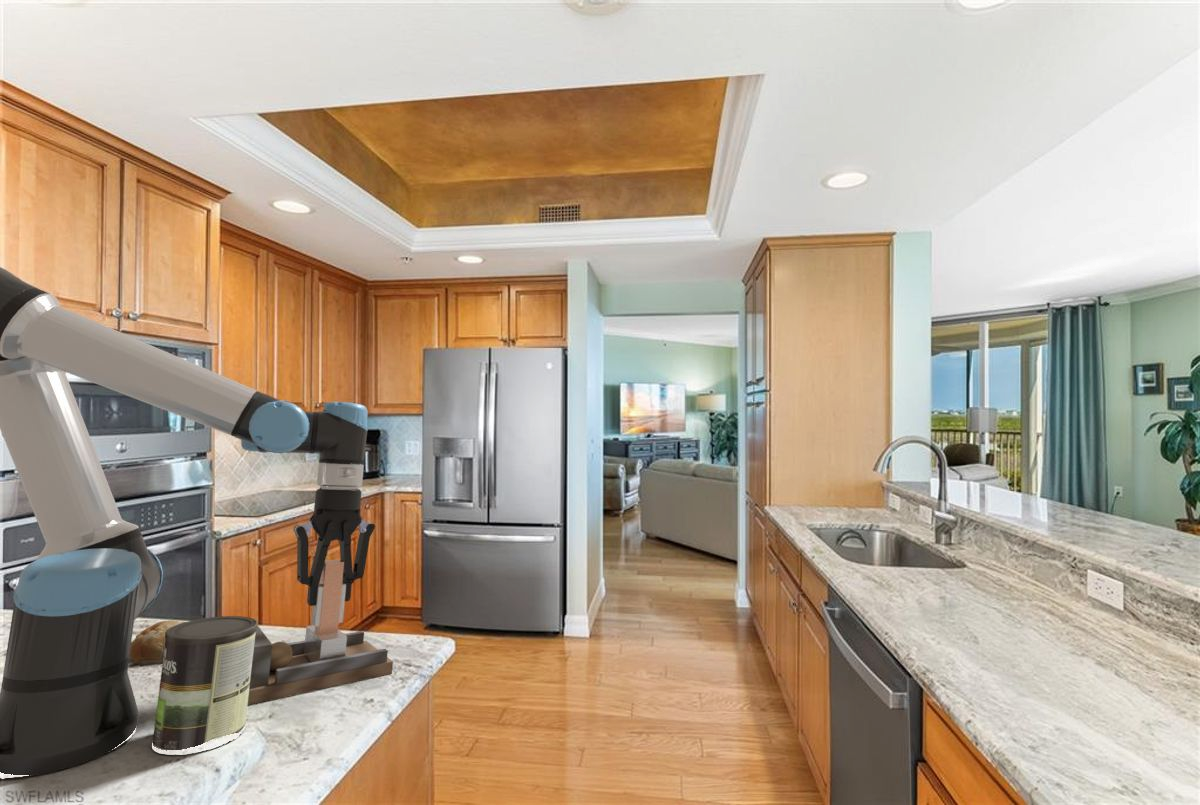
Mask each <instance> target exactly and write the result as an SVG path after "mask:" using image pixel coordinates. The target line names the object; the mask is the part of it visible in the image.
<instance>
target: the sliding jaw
mask: <svg viewBox="0 0 1200 805" xmlns="http://www.w3.org/2000/svg"><path fill="white" fill-rule="evenodd" d="M343 569H344V561H342V560H341V558H338V559H327V560H326V559H325V563H324V567H323V571H322V574H321V578H320V582H319V584H320V585H322V586H323V598H322V608H321V619H320V626H314V625H313V624H312V625H306V629H305V638H304V639H305V640H304V641H305V647H304V654H305V655H306V656H307V658H308V659H309V660H310V661H311V662H317V661H322V660H327V659H333V658H338V657H343V656H345V654H346V642H347V636H346V635H345V634H346V633H343V632H342V631H341V630H340V629H339V624H340V623H339V614H340V602H341V591H342V581H343Z"/></svg>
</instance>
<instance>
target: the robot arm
mask: <svg viewBox="0 0 1200 805" xmlns="http://www.w3.org/2000/svg"><path fill="white" fill-rule="evenodd" d="M66 373H67V374H70V375H72V376H74V377H75V376H76V377H78V378H80V379H83V380H86V381H87V382H91V383H94V384H96V385H98V386H101V387H103V388H107V389H110V390H112V391H114V392H117V393H119V394H122V395H125V396H127V397H130V398H132V399H135V400H138V401H140V402H143V403H146V404H149V405H151V406H153V407H156V408H157V409H158V408H159V409H161V410H164V411H166V412H169V413H172V414H174V415H177V416H180V417H182V418H185V419H188V420H190V421H192V422H195V423H198V424H201V425H204V426H205V427H208V428H210V429H213V430H216V431H219V432H221V433H224V434H225V435H229V436H231V437H234V438H235V439H238V440H240V444H241V448H242V449H243V450H245V451H246V452H258V453H263V454H265V453H273V454H285V453H287V454H288V453H289V454H310V455H312V454H313V455H314V454H317V455H318V458H319V459H318V467H317V468H318V469H317V475H316V476H317V477H316V485H317V486H319V488H316V490H315V497H314V505H313V506H314V507H313V514H312V515H311V517H310V519H309V521H306V522H305V523H302V524H300V525H299V524H296V525H295V526H294V527H293V531H294V534H295V536H296V540H297V544H296V545H297V546H296V549H297V551H296V580H297V582H299V583H300V584H301V585H306V586H307V596H306V603H307V605H308V606H310V607H311V606H312V608H311V617H310V623H311V624H312V625H314V626H320V619H321V608H322V598H323V586H322V585H320V584H319V582H320V578H321V574H322V571H323V567H324V563H325V560H326V558H327V553H328V550H329V548H330V545H331V542H333V541H338V544H339V556H340V558H339V559H340V560H342V561H344V569H343V580H342V591H341V602H340V614H339V624H340V623H344V614H345V613H344V612H345V602H349V601H350V600H351V596H352V584H354V582H355V581H356V580H359V579H362V578H364V574H365V569H366V563H367V557H368V551H369V545H370V540H371V537H372V534H373V533H374V531H375V528H376V526H375V524H374V523H372V522H367V521H365V520H363V517H362V515H361V513H360V512H361V504H362V490H361V489H359V487H361V486H363V480H364V479H363V478H364V466H365V456H366V446H367V445H366V444H367V437H368V436H367V435H368V430H369V429H368V415H369V413H368V412H369V410H368V409H367V407H366V406H365V405H363V404H360V403H354V402H344V401H343V402H342V401H341V402H340V401H328V402H326V403H325V404H324V406H323V409H322V411H307V410H306V411H304V410H303V409H302V408H301V407H300V406H299V405H296V404H295V403H292V402H290V401H286V400H280V399H278V398H275V397H273V396H271V395H268V394H266V393H262V392H260V391H258V390H257V389H255V388H252V387H250V386H248V385H246V384H242V383H240V382H239V381H235V380H233V379H231V378H229V377H226V376H224V375H222V374H219V373H217V372H214V371H213V370H210V369H208V368H206V367H203V366H201V365H198V364H195V363H193V362H192V361H189V360H187V359H184V358H182V357H180V356H177V355H175V354H173V353H171V352H168V351H166V350H164V349H160V348H159V347H156V346H154V345H151V344H149V343H146V342H144V341H141V340H139V339H137V338H135V337H133V336H130V335H128V334H126V333H123V332H121V331H118V330H116V329H114V328H112V327H109V326H106V325H105V324H102V323H99V322H98V321H94V320H93V319H91V318H88V317H86V316H83V315H81V314H79V313H76V312H74V311H71V310H70V309H66V308H65V307H62V306H61V303H60V301H59V299H58V297H57V296H55V295H53V294H52V293H49V292H47V291H45V290H42V289H40V288H38V287H36V286H34V285H32V284H29V283H28V282H25V281H24V280H22V279H21V278H19V277H17V276H16V275H15V274H13V273H12V272H11V271H8V270H7V269H6V268H3V267H1V266H0V432H1V434H2V437H3V440H4V442H5V445H6V447H7V450H8V452H9V455H10V457H11V459H12V462H13V464H14V468H15V470H16V472H17V474H18V476H19V479H20V482H21V484H22V487H23V490H24V491H25V494H26V496H27V500H28V502H29V505H30V507H31V510H32V511H33V515H34V517H35V519H36V521H37V524H38V527H39V530H40V532H41V534H42V538H43V539H44V541H45V542H44V543H45V545H44V548H43V549H42V550H41V552H40V554H39V555H38V556H37V557H36V559H35V560H34V561H32V562H30V563H29V564H28V565H26V566H25V567H24V569H22V570H21V573H20V575H19V578H18V581H17V585H16V586H15V588H14V591H13V592H14V593H13V596H12V597H13V609H12V614H11V616H12V617H11V623H10V627H9V634H8V641H7V648H6V653H5V654H6V655H5V662H4V666H3V674H2V681H1V687H0V772H1V773H4V774H11V775H12V774H13V775H29V777H31V776H30V775H35V776H38V775H39V776H40V775H44V774H48V773H54V772H56V771H57V772H58V771H60V770H64V769H68V768H72V767H75V766H78V765H81V764H83V763H86V762H89V761H92V760H94V759H97V758H100V757H102V756H104V755H106V754H108V753H110V752H112V751H113V750H112V749H114V748H115V747H117V746H118V745H119V744H121V743H122V742H123V741H125V740H126V739H127V738H128V737H129V736H130V735H131V734H132V733H133V731H134V730H135V728H136V726H137V727H138V722H139V721H138V720H139V709H138V705H137V702H136V699H135V695H134V691H133V688H132V687H133V686H132V684H131V681H130V676H129V673H128V672H129V671H128V669H129V661H130V659H129V655H130V648H131V642H133V631H134V625H135V620H136V619H137V618H138V617H139V616H140V615H142V614H143V613H145V611H147V610H148V609H149V607H150V606H151V605H153V603H154V602H155V599H156V598H157V597H158V594H159V593H160V591H161V588H162V584H163V577H164V576H163V575H164V572H163V566H162V564H161V561H160V559H159V558H158V556H157V555H156V554H155V553H154V552H152V550H150V549H149V548H148V546H147V545H146V542H145V540H144V536H143V534H142V531H141V530H140V527H139V525H137V524H135V523H132V522H128V521H126V520H125V519H122V516H121V514H120V513H121V512H120V511H119V508H118V506H117V503H116V500H115V498H114V495H113V493H112V491H111V490H112V489H111V488H110V485H109V483H108V480H107V476H106V475H105V472H104V470H103V467H102V465H101V462H100V460H99V457H98V454H97V452H96V450H95V446H94V444H93V442H92V438H91V437H90V433H89V431H88V428H87V426H86V423H85V421H84V418H83V415H82V413H81V410H80V408H79V405H78V402H77V400H76V397H75V395H74V392H73V390H72V388H71V387H72V386H71V385H70V382H69V378H68V377H67V374H66ZM357 528H358V531H359V535H358V540H357V545H356V551H355V557H354V563H353V560H352V558H353V557H352V548H351V547H352V535H353V534H354V532H355V531H356V530H357ZM311 529H313V530H314V531H315V533H316V534H317V536H318V539H317V542H316V543H317V546H316V549H315V552H314V558H313V561H312V565H311V569H310V572H309V546H310V545H309V543H310V542H309V536H310V534H311ZM111 750H112V751H111ZM114 750H115V749H114ZM109 751H110V752H109Z"/></svg>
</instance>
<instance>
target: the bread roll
mask: <svg viewBox="0 0 1200 805" xmlns="http://www.w3.org/2000/svg"><path fill="white" fill-rule="evenodd" d="M184 622H185V621H179V620H163V621H160V622H156V623H154V624H153V625H150V626H148V627H146V629H144V630H142V631H141V632H140V633H138V634H136V636H135V638H134V639H132V641H131V648H130V655H129V661H131V662H132V663H134V664H135V665H136V664H137V665H140V664H143V665H145V664H146V665H159V664H163V658H164V649H165V641H166V639H165V632H166V631H167V630H168V629H169V628H171V627H173V626H175V625H178V624H181V623H184Z"/></svg>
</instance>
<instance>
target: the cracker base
mask: <svg viewBox="0 0 1200 805" xmlns="http://www.w3.org/2000/svg"><path fill="white" fill-rule="evenodd" d="M344 634H345V635H346V636H347V642H346V654H345V656H343V657H338V658H333V659H327V660H322V661H317V662H311V661H310V660H309V659H308V658H307V656H306V655H305V654H304V647H305V640H300V641H299V640H298V641H292V642H284V641H276V642H273V643H272V642H271V640H269V638H268V637H267V636H266V634H265V633H264V632H263V630H262V629H261V627H260V626H259V625H258V626H257V629H256V634H255V643H254V652H253V660H252V669H251V678H250V686H249V696H248V704H247V706H250V705H254V704H259V703H262V702H268V701H273V700H277V699H282V698H286V697H291V696H296V695H300V694H305V693H308V692H313V691H317V690H323V689H327V688H332V687H337V686H341V685H345V684H349V683H354V682H358V681H359V682H360V681H363V680H369V679H372V678H377V677H382V676H386V675H390V674H393V664H394V661H393V660H392V659H390V658H389V657H388V652H389V651H388V649H386V648H382V649H378V648H376V646H374V645H372V643H370V642H369V641H367V640H364V639H365V632H364V631H363V630H361V631H356V632H349V633H344Z"/></svg>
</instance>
